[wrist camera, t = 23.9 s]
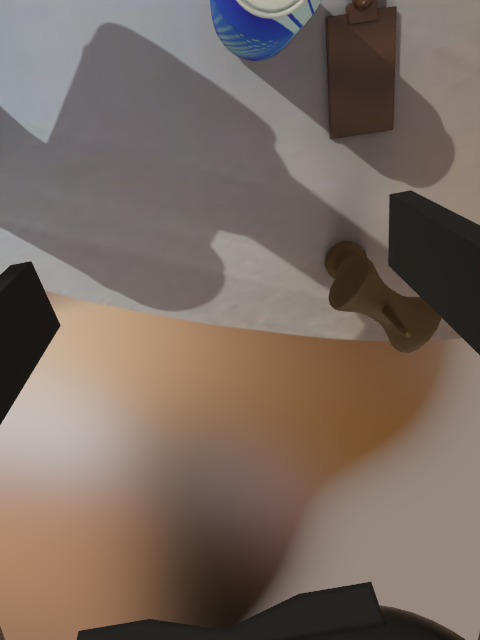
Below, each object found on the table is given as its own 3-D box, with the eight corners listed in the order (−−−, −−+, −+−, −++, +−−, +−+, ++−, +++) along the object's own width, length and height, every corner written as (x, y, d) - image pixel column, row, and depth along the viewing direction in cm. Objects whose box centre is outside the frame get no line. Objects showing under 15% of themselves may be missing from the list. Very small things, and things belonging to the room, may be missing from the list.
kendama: (358, 297, 54) (425, 386, 36) (300, 260, 52) (342, 336, 34) (388, 260, 52) (475, 335, 34) (329, 219, 50) (391, 278, 32)
